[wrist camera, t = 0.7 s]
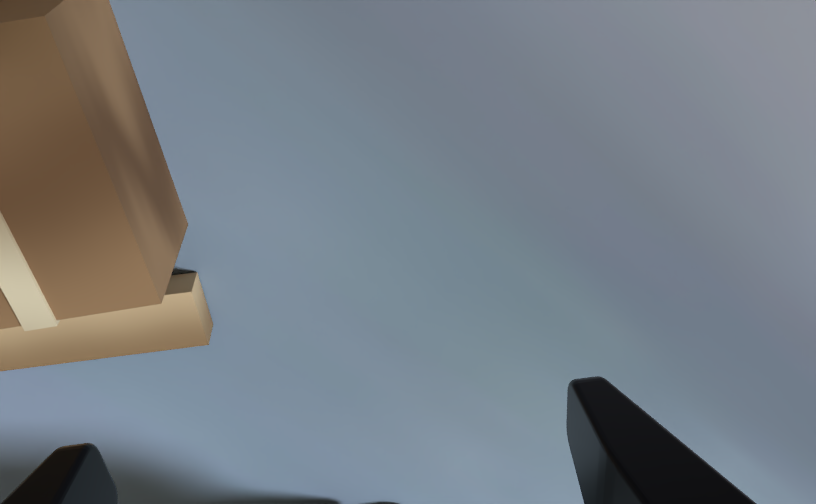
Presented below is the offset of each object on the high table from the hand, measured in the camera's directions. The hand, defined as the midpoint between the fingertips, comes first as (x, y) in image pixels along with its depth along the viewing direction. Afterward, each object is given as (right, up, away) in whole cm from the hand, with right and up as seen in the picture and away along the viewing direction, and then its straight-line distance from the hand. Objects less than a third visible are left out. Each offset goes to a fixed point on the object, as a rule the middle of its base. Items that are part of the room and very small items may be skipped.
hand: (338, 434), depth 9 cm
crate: (-9, +6, +10) cm, 15 cm away
